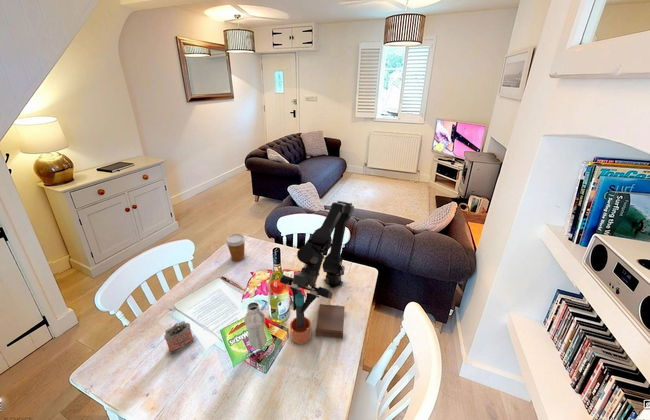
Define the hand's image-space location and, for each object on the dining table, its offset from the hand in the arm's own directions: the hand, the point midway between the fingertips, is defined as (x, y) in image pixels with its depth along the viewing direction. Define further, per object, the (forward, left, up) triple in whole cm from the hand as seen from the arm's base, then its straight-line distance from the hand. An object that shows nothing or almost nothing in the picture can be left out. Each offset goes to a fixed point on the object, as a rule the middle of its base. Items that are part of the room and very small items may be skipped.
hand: (298, 311), depth 92 cm
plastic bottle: (+14, -4, -13) cm, 19 cm away
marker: (-1, -1, -7) cm, 7 cm away
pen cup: (-1, -1, -13) cm, 13 cm away
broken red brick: (+36, -20, -13) cm, 43 cm away
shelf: (-13, +1, -13) cm, 19 cm away
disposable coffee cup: (+3, -61, -13) cm, 62 cm away
